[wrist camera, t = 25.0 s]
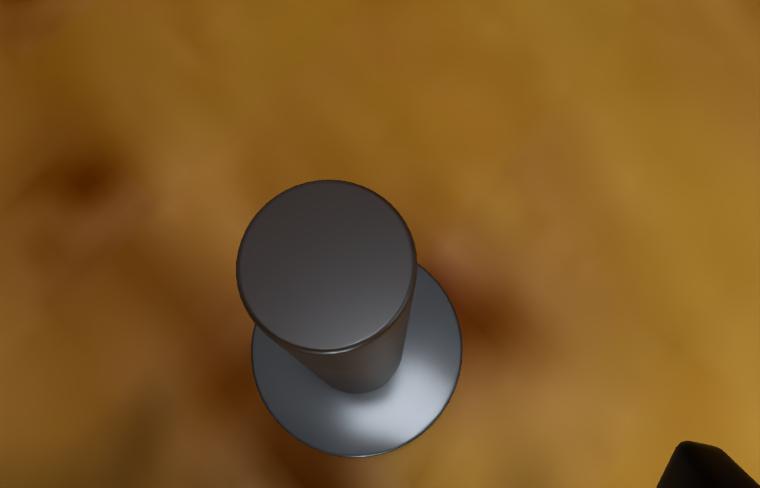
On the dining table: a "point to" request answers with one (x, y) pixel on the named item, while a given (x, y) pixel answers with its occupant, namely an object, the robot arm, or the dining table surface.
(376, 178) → the dining table surface
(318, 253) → the grey peg stand
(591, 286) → the dining table surface
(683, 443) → the robot arm
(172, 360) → the dining table surface
